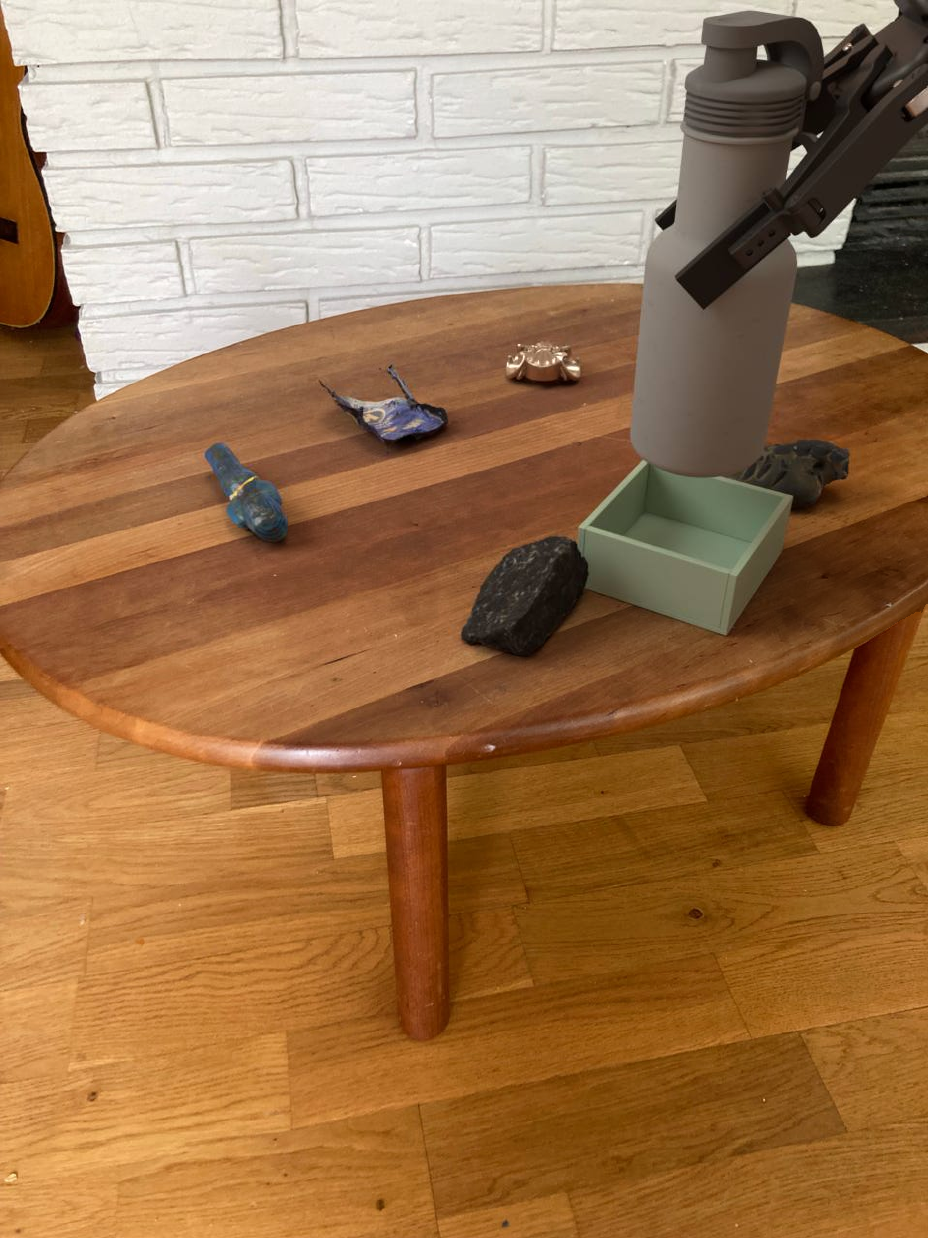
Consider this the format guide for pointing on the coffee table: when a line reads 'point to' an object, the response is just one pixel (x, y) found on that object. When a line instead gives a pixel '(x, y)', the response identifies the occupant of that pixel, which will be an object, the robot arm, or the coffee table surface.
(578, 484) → the coffee table surface
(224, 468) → the blue long piece
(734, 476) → the stone
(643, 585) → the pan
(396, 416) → the snack package
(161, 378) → the coffee table surface
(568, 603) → the rock
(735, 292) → the water bottle
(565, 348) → the ornament
